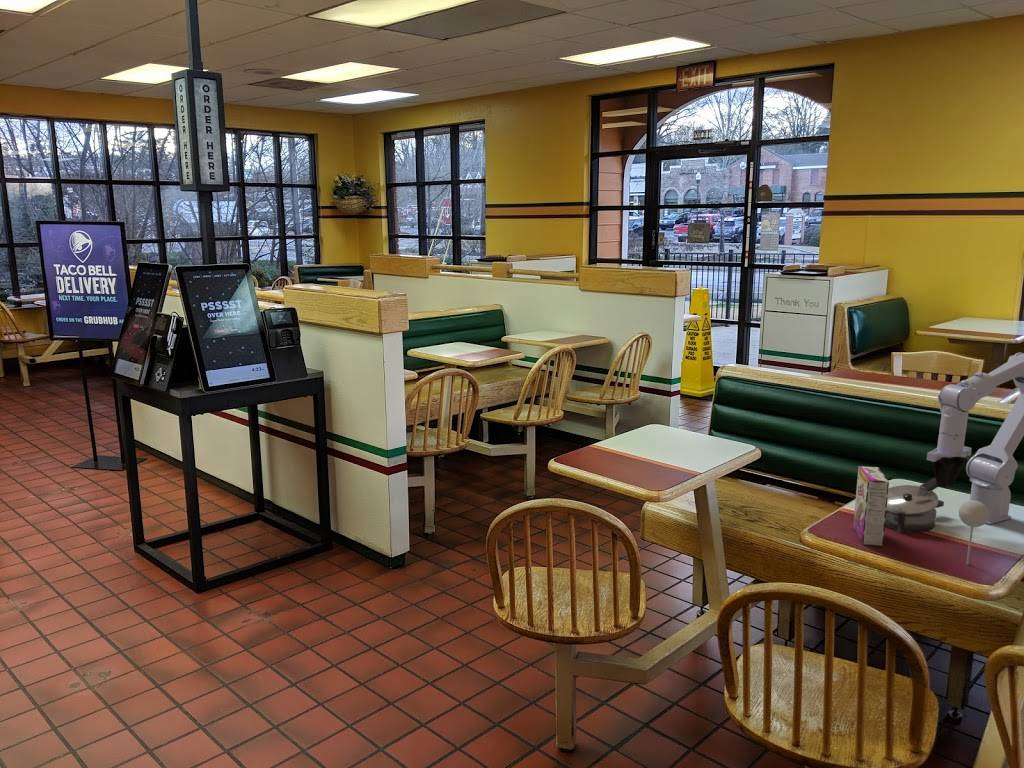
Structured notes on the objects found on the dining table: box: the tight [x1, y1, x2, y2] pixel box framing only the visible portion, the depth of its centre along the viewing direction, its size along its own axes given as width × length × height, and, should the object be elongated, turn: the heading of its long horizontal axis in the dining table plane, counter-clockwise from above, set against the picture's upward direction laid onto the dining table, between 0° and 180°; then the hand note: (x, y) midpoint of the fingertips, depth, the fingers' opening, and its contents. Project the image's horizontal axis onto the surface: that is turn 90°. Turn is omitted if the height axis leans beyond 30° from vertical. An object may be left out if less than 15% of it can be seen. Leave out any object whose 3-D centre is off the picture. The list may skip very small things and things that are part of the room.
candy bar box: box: [852, 465, 890, 547], centre depth 194 cm, size 11×5×16 cm, turn 168°
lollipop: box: [958, 500, 989, 566], centre depth 179 cm, size 6×6×15 cm
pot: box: [885, 499, 945, 534], centre depth 206 cm, size 20×13×5 cm, turn 117°
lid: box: [886, 477, 940, 515], centre depth 204 cm, size 19×14×2 cm
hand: (945, 485), depth 202 cm, fingers open, 2 cm apart
